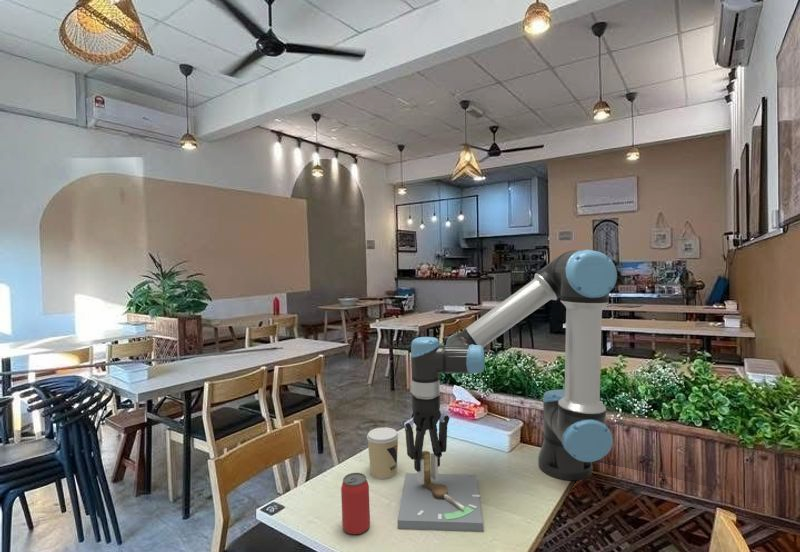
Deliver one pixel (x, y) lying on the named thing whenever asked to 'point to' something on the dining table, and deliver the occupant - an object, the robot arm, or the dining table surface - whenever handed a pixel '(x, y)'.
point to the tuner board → (441, 504)
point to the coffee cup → (383, 452)
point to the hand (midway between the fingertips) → (427, 479)
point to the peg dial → (438, 489)
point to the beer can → (355, 503)
